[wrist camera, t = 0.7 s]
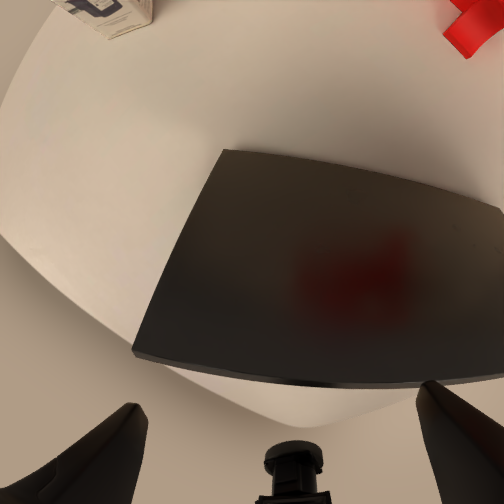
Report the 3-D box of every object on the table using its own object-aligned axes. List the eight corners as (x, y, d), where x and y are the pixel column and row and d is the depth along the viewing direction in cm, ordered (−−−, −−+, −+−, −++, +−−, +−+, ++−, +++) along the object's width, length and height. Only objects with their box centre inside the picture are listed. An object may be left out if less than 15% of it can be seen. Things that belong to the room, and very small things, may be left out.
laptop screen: (568, 361, 8) (575, 355, 7) (136, 358, 9) (130, 349, 8) (496, 214, 18) (499, 208, 18) (223, 157, 20) (223, 148, 19)
